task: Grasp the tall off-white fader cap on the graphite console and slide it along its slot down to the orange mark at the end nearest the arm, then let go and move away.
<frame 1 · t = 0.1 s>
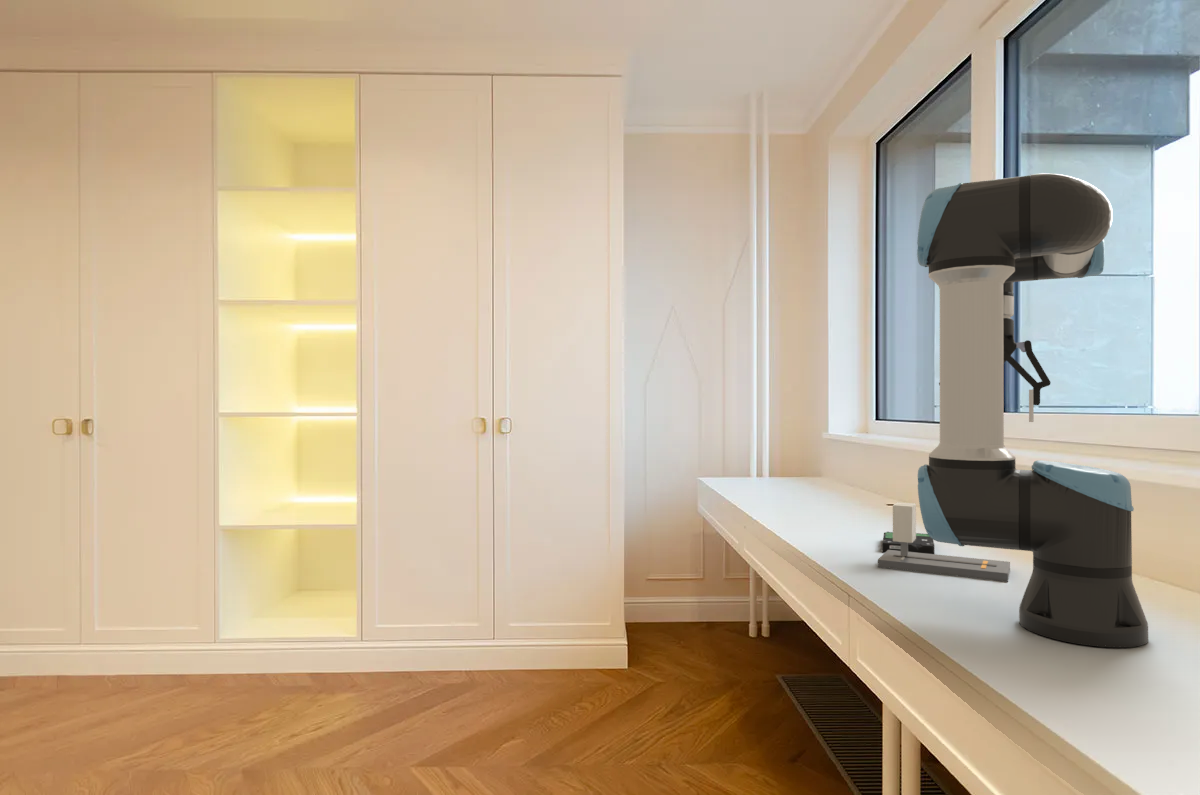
hand: (993, 421, 152), 28 cm above the table, tool pointing down, fingers open, 13 cm apart
fader: (904, 529, 145), point 7 cm above the table, slide at 7.0 cm
console: (943, 568, 142), on the table
disk drive: (908, 551, 162), on the table
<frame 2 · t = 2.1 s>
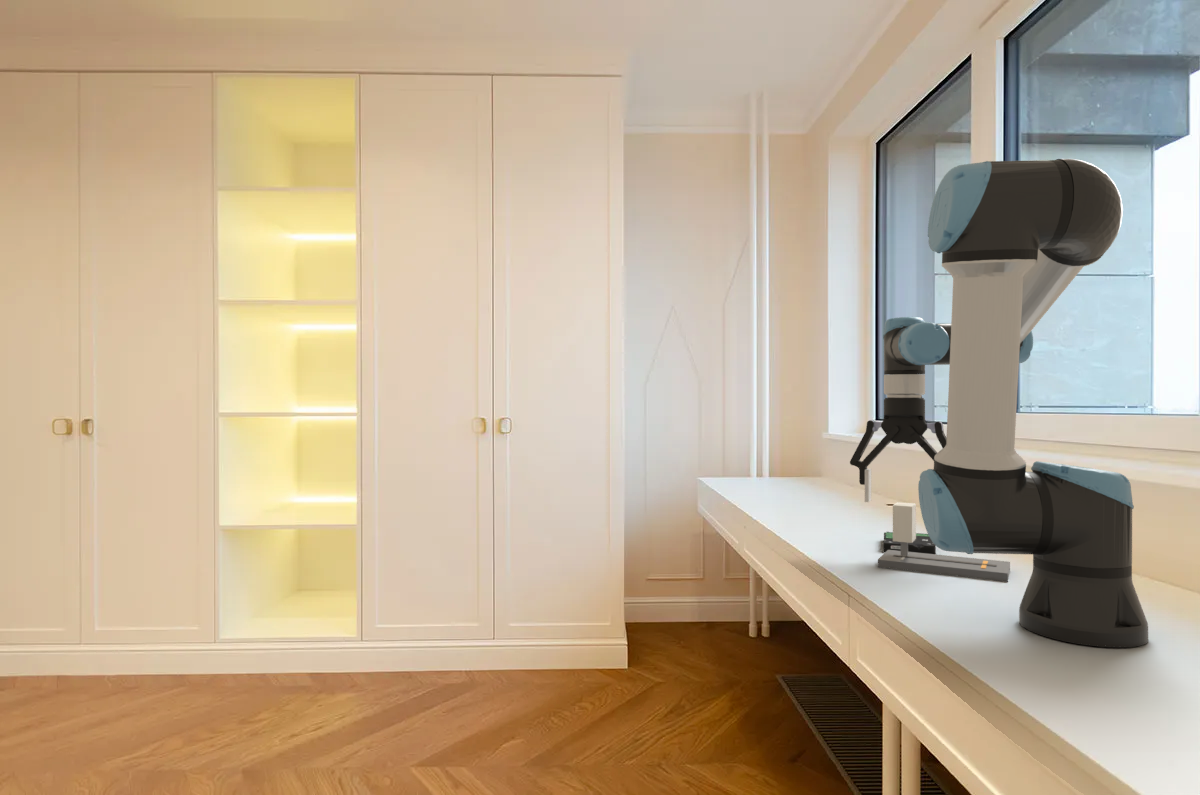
hand: (903, 504, 146), 12 cm above the table, tool pointing down, fingers open, 13 cm apart
nothing on the table moved.
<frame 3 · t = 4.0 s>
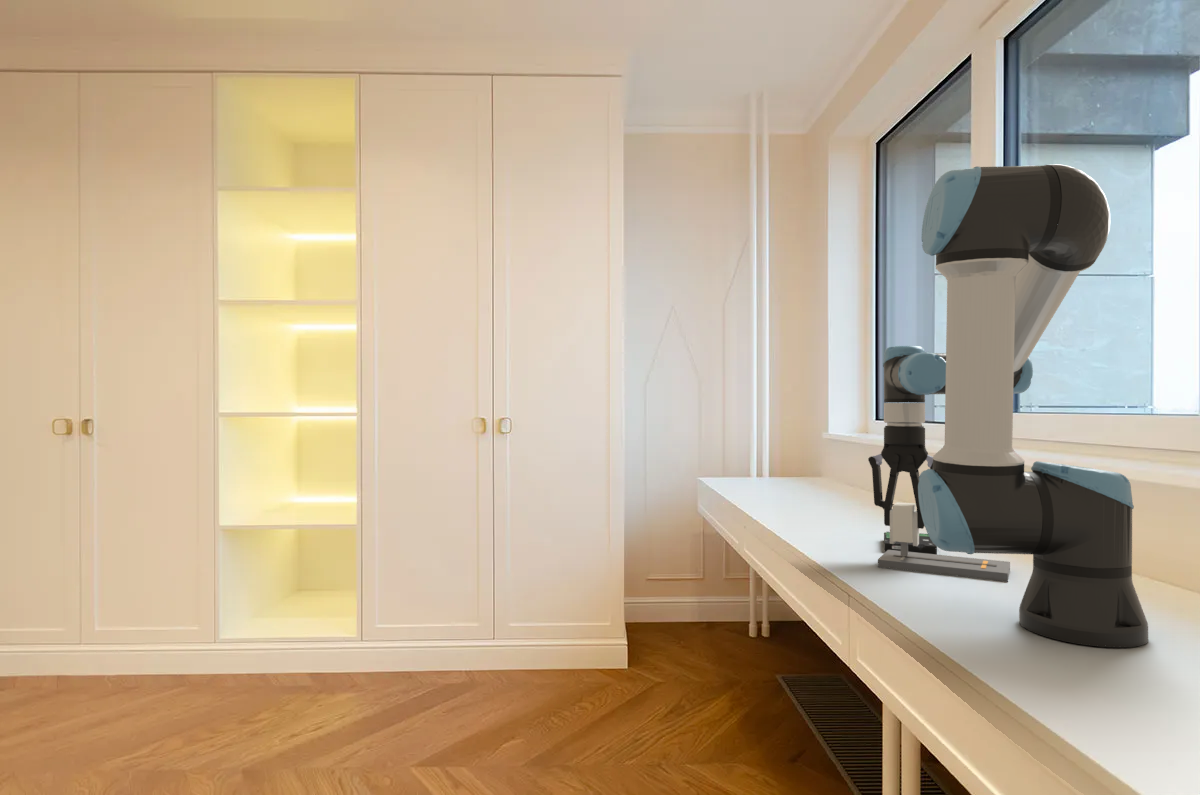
hand: (904, 543, 145), 4 cm above the table, tool pointing down, fingers closed on fader, 3 cm apart
fader: (904, 529, 145), point 7 cm above the table, slide at 7.0 cm, touching gripper
everything else where it was.
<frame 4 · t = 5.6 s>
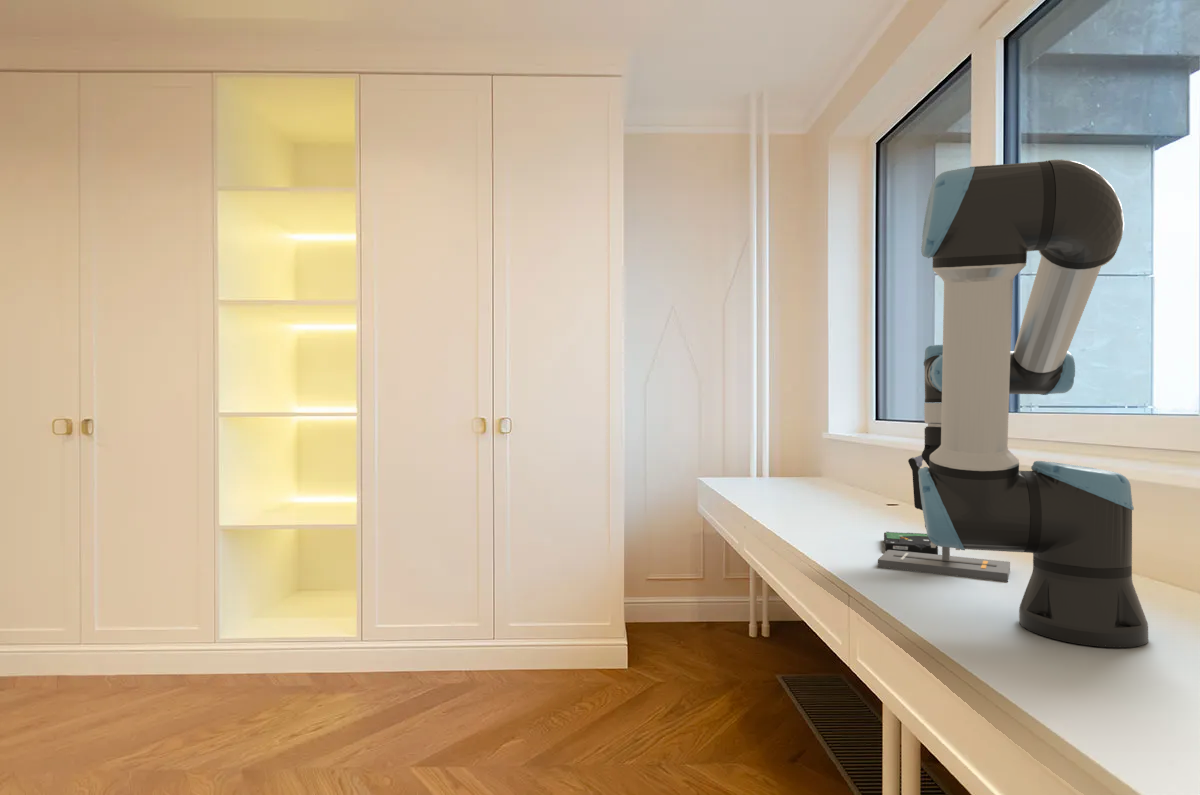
hand: (946, 547, 141), 4 cm above the table, tool pointing down, fingers closed on fader, 4 cm apart
fader: (945, 533, 141), point 7 cm above the table, slide at -0.5 cm, touching gripper
everything else where it was.
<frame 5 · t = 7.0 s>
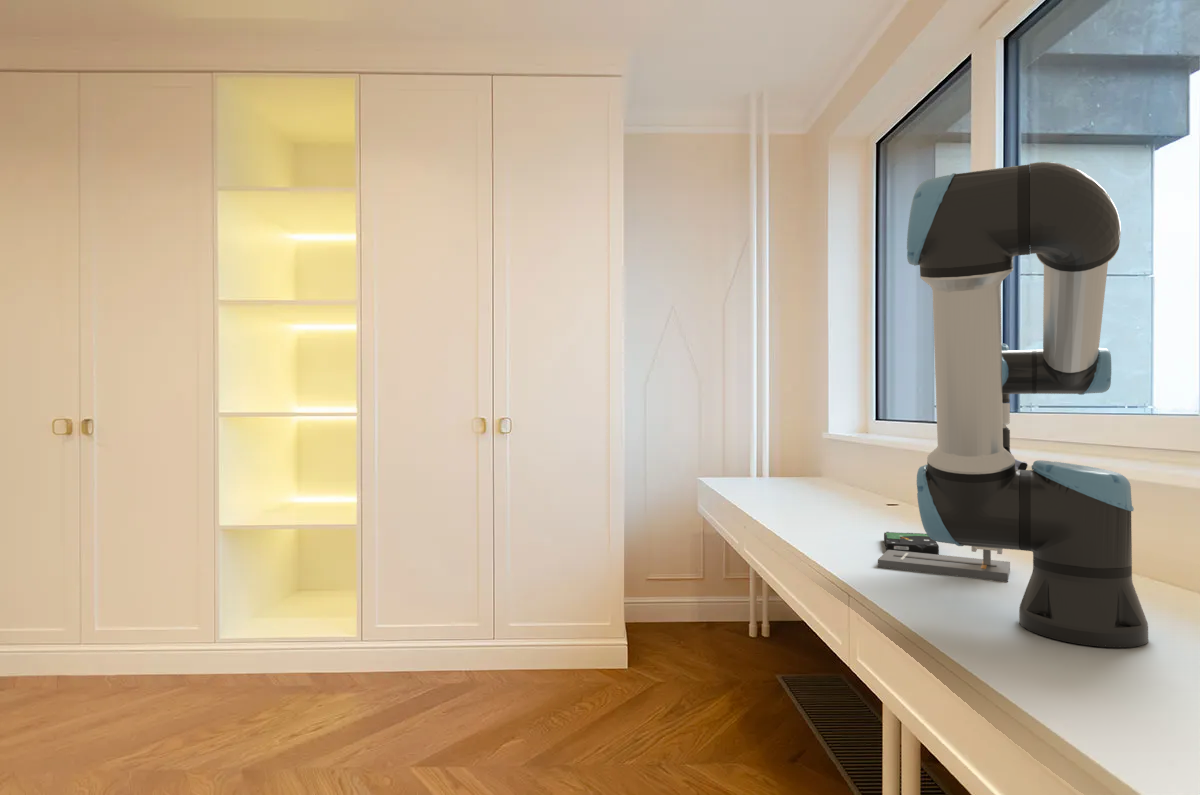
hand: (987, 551, 138), 4 cm above the table, tool pointing down, fingers closed on fader, 3 cm apart
fader: (987, 536, 138), point 7 cm above the table, slide at -7.4 cm, touching gripper
everything else where it was.
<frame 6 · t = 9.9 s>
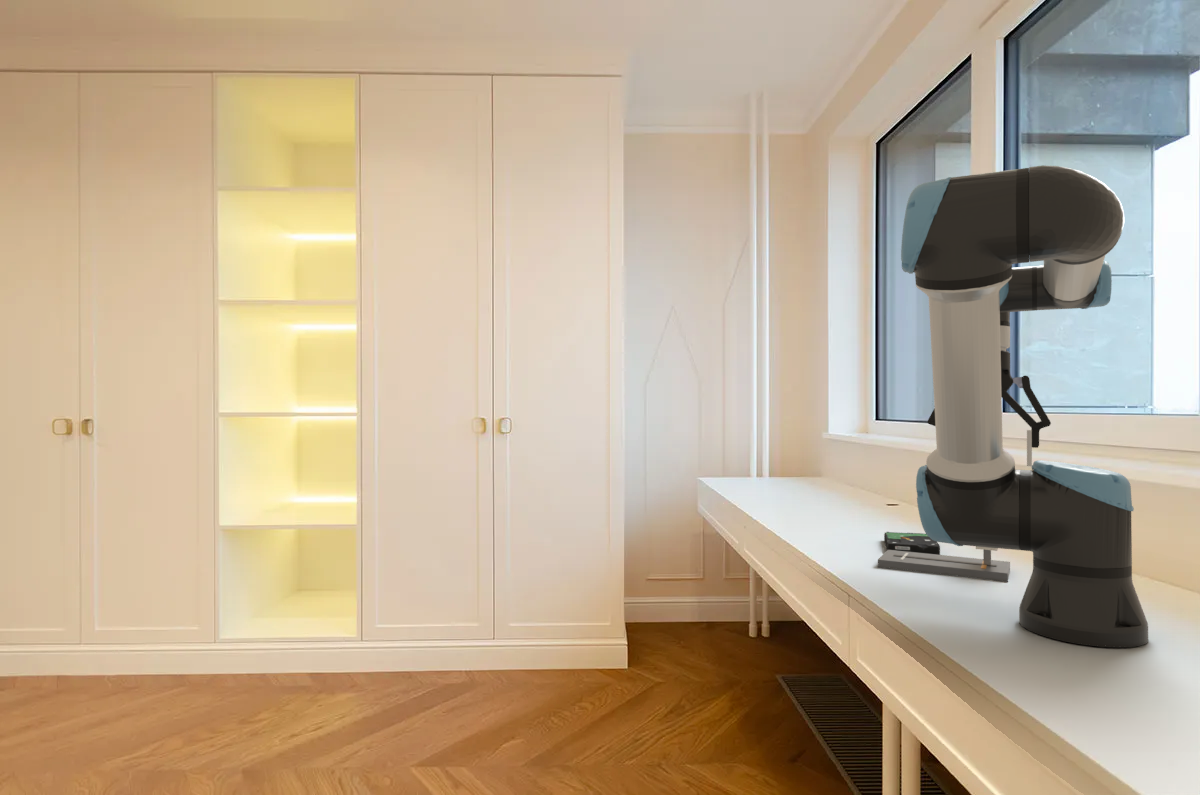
hand: (987, 464, 138), 20 cm above the table, tool pointing down, fingers open, 13 cm apart
fader: (987, 536, 138), point 7 cm above the table, slide at -7.5 cm
everything else where it was.
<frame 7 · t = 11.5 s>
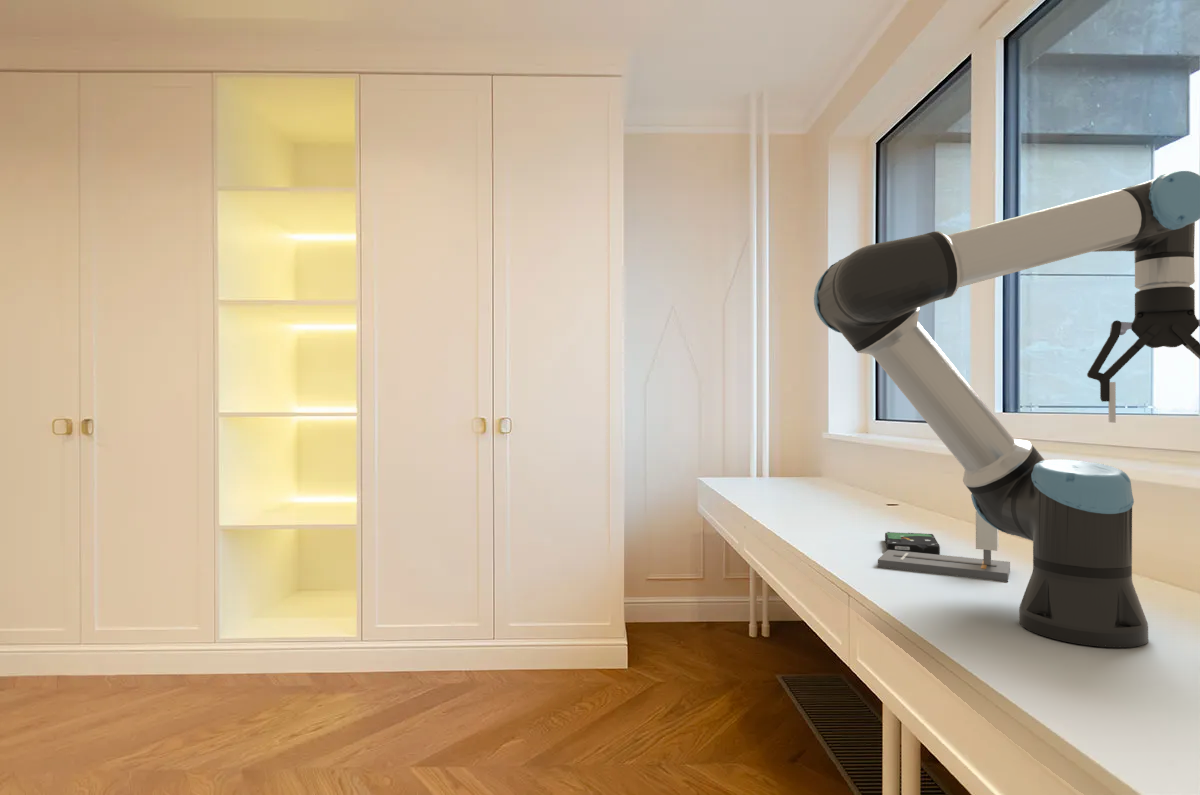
hand: (1164, 423, 116), 29 cm above the table, tool pointing down, fingers open, 13 cm apart
nothing on the table moved.
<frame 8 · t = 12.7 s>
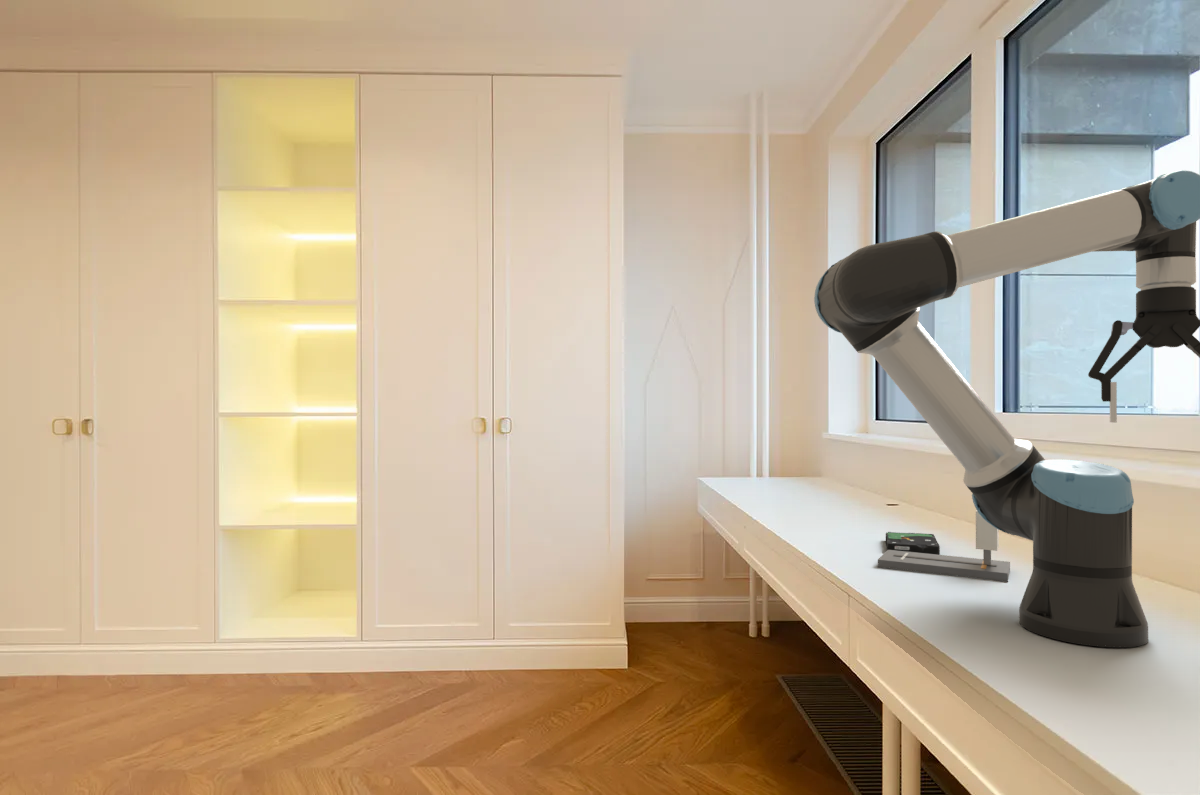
hand: (1165, 423, 116), 29 cm above the table, tool pointing down, fingers open, 13 cm apart
nothing on the table moved.
at the end: fader slide at -7.5 cm; the gripper is holding nothing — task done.
